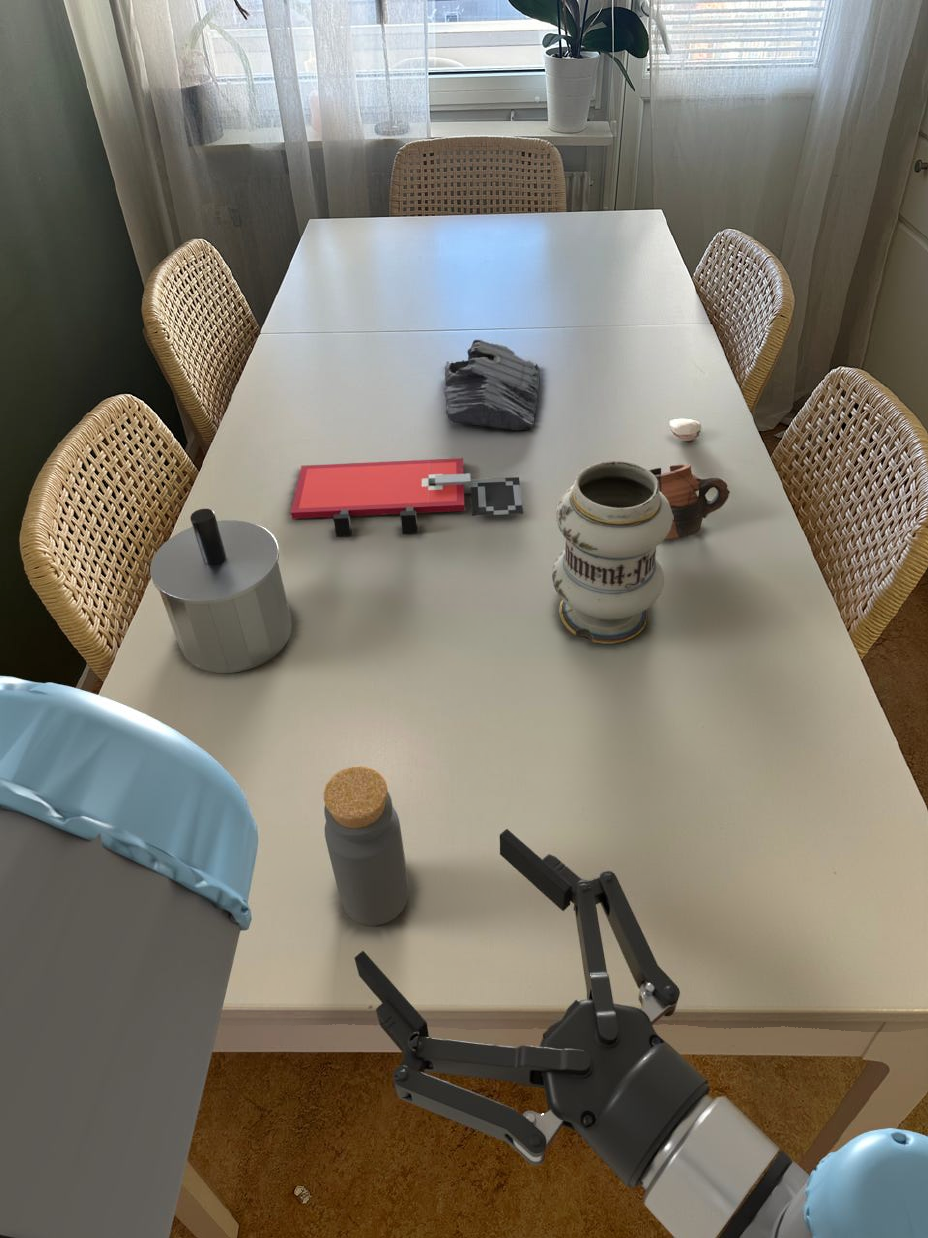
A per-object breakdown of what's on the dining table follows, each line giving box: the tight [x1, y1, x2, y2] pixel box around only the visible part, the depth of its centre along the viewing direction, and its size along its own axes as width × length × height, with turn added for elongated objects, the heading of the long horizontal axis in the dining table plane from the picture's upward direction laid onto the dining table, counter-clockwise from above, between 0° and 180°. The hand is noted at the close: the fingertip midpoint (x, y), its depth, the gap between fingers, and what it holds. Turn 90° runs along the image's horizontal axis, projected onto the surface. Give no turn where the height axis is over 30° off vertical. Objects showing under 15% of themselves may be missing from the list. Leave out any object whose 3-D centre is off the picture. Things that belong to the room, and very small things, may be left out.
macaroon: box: [669, 418, 702, 442], centre depth 124 cm, size 4×5×2 cm
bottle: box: [323, 765, 410, 927], centre depth 69 cm, size 6×6×15 cm
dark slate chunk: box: [444, 339, 540, 431], centre depth 133 cm, size 15×22×5 cm
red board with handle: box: [290, 457, 524, 538], centre depth 115 cm, size 30×3×15 cm
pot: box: [159, 562, 293, 674], centre depth 94 cm, size 12×12×10 cm
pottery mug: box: [648, 463, 731, 541], centre depth 110 cm, size 12×10×8 cm
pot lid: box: [149, 508, 280, 604], centre depth 89 cm, size 13×13×7 cm
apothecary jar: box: [551, 460, 673, 645], centre depth 92 cm, size 12×12×18 cm
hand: (435, 898), depth 62 cm, fingers open, 13 cm apart
